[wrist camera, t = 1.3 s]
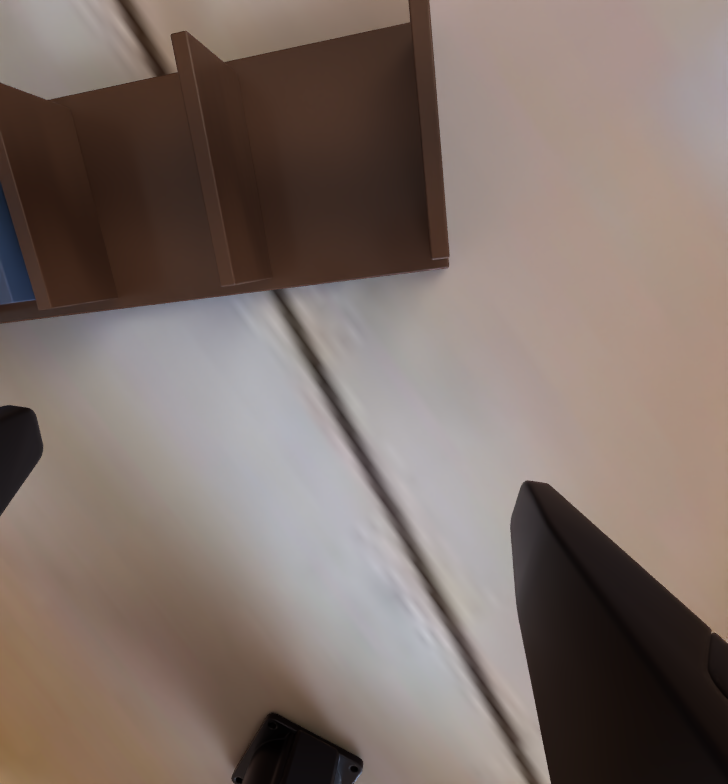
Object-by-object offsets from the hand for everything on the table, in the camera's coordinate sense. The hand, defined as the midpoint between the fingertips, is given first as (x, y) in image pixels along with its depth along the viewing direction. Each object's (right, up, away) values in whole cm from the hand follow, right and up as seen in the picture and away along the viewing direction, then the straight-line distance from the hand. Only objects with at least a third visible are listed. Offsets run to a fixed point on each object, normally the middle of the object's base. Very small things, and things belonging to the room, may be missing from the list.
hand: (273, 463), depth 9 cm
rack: (-7, +10, +13) cm, 18 cm away
